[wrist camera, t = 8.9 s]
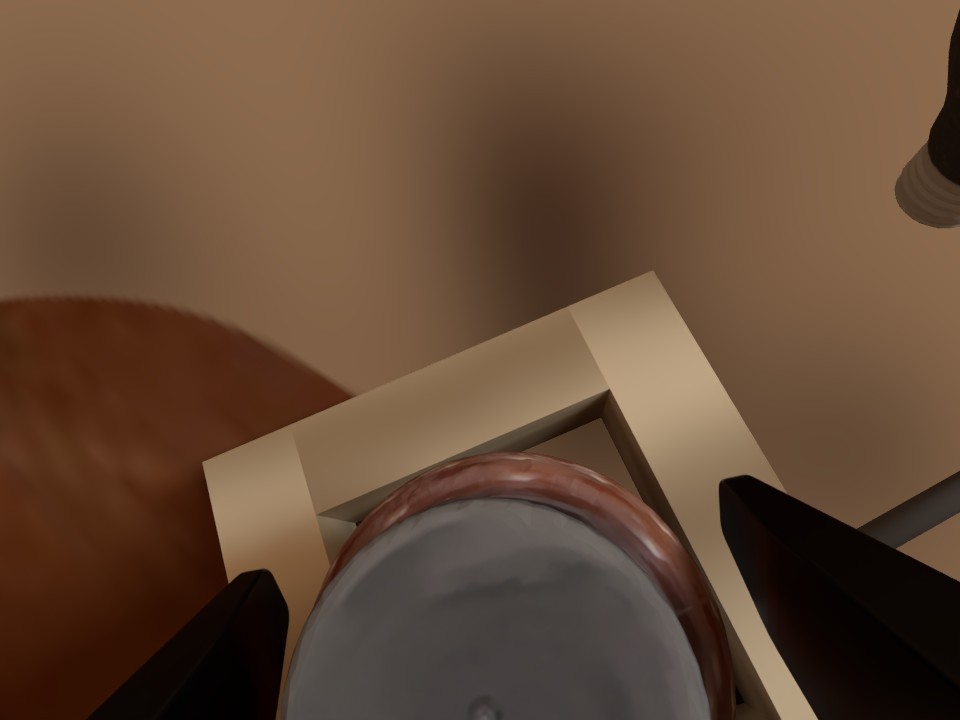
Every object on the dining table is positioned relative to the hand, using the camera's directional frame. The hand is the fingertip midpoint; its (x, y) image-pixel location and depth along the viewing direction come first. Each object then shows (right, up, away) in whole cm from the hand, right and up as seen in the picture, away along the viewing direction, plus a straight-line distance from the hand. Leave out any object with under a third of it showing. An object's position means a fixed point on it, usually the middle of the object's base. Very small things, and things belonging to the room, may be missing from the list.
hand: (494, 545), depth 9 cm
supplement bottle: (+1, -4, +7) cm, 8 cm away
